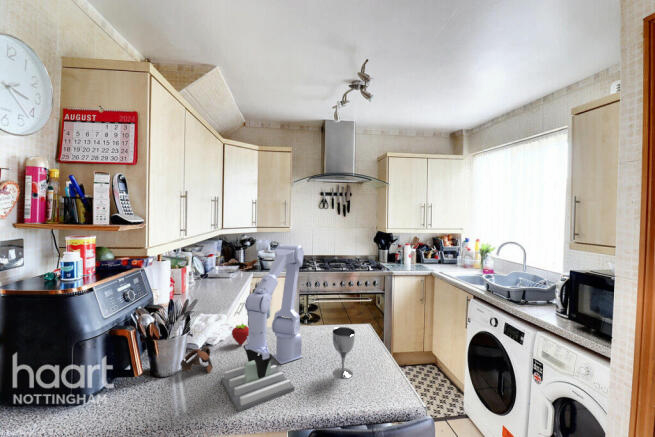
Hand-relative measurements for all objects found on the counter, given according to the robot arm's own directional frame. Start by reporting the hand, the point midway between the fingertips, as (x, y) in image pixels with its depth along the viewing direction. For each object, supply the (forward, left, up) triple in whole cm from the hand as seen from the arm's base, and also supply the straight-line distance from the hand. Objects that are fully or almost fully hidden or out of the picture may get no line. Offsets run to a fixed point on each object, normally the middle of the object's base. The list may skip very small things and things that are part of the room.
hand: (257, 371), depth 93 cm
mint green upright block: (0, 0, -4) cm, 4 cm away
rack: (0, 0, -5) cm, 5 cm away
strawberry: (-5, -31, -5) cm, 32 cm away
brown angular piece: (+14, -20, -5) cm, 25 cm away
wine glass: (-28, +10, -5) cm, 30 cm away
